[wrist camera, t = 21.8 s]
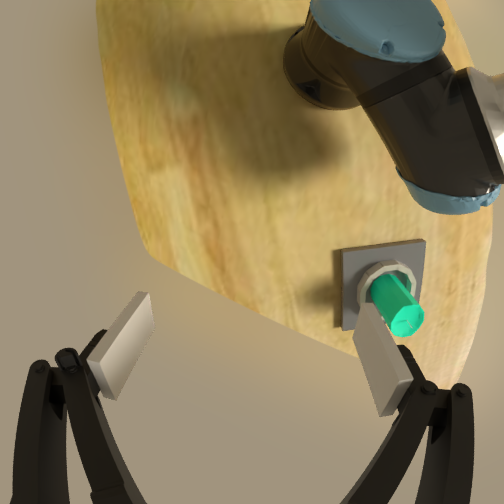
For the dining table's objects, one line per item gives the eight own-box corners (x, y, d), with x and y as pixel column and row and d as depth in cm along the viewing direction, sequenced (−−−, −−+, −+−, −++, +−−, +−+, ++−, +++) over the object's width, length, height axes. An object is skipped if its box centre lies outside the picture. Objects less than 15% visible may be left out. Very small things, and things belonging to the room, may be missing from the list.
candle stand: (340, 249, 45) (346, 257, 41) (422, 238, 43) (431, 245, 40) (341, 326, 50) (344, 337, 47) (413, 312, 48) (420, 322, 45)
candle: (402, 293, 45) (430, 331, 34) (375, 308, 47) (397, 349, 36) (395, 267, 44) (425, 303, 32) (365, 283, 45) (390, 323, 34)
